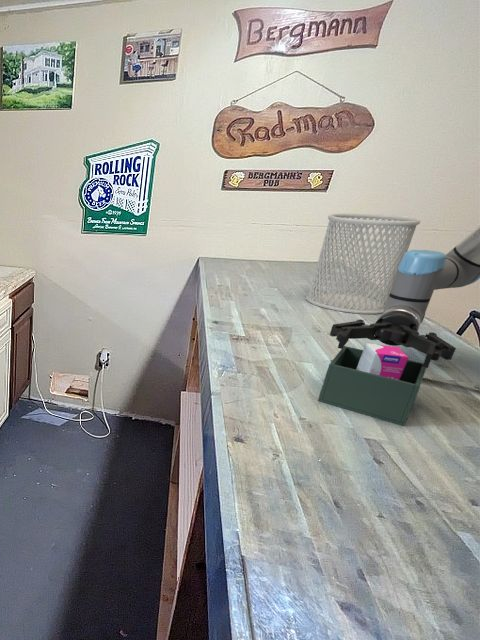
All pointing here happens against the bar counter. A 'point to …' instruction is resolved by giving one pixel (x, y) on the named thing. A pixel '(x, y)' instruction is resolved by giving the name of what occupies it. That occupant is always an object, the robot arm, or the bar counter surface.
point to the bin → (370, 388)
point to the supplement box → (383, 360)
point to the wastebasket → (360, 262)
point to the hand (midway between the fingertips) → (382, 351)
